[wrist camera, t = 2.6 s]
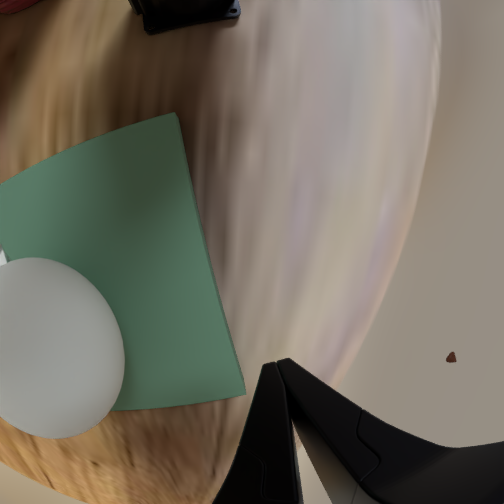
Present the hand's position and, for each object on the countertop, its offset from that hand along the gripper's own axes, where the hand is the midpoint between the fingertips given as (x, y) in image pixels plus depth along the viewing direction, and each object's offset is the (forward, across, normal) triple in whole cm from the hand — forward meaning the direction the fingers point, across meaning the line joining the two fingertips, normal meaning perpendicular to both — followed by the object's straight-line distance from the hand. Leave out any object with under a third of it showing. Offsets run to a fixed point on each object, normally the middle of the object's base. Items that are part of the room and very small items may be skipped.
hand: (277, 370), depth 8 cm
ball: (+4, +12, 0) cm, 13 cm away
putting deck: (+11, +17, 0) cm, 20 cm away
